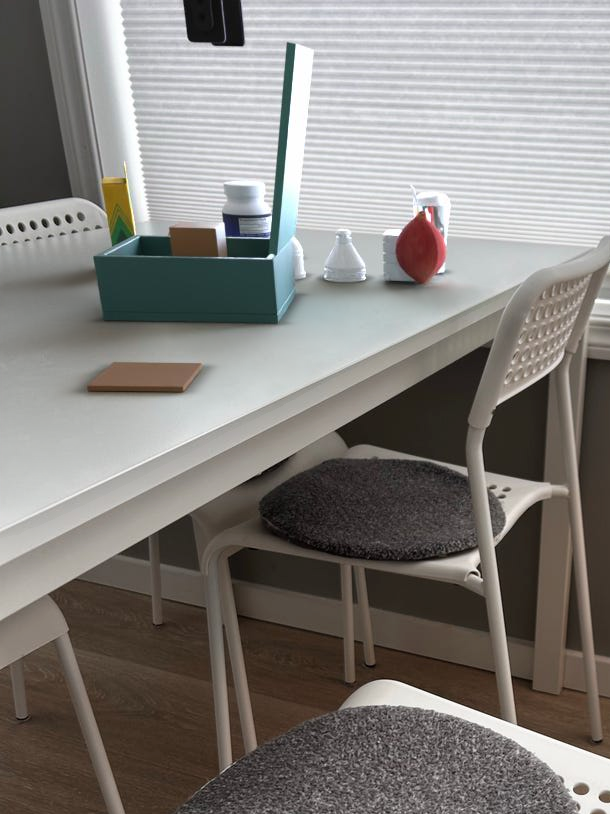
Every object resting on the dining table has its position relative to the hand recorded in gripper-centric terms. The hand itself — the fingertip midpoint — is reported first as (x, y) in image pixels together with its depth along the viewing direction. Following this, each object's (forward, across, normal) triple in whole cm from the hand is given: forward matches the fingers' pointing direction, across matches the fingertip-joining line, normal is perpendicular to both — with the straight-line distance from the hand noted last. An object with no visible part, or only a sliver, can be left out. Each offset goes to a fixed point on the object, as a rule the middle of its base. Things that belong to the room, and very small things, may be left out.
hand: (218, 44), depth 86 cm
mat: (+23, +28, -3) cm, 36 cm away
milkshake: (+24, -24, +19) cm, 39 cm away
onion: (+23, -14, +18) cm, 33 cm away
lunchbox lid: (+8, 0, +5) cm, 10 cm away
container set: (+24, -19, +9) cm, 31 cm away
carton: (+22, 0, -4) cm, 23 cm away
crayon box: (+23, -23, -18) cm, 37 cm away
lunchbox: (+23, 0, -4) cm, 23 cm away
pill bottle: (+23, -21, -3) cm, 32 cm away
